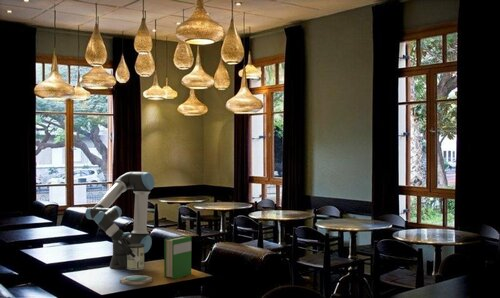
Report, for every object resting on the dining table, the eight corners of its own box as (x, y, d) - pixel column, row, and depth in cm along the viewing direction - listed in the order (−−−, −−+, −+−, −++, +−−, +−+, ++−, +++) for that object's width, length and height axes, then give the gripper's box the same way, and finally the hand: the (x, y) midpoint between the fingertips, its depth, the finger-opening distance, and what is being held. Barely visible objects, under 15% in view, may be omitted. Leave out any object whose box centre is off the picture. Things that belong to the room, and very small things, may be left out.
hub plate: (115, 280, 339) (115, 277, 339) (144, 276, 350) (144, 273, 350) (127, 286, 324) (127, 283, 324) (157, 282, 334) (157, 279, 334)
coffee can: (129, 266, 342) (130, 243, 342) (146, 266, 341) (146, 243, 341) (124, 269, 332) (124, 245, 332) (141, 270, 331) (141, 246, 331)
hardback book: (173, 279, 343) (173, 240, 343) (164, 277, 347) (164, 239, 347) (191, 273, 358) (191, 236, 358) (182, 272, 362) (182, 235, 362)
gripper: (115, 234, 348) (139, 260, 348) (105, 239, 325) (132, 267, 325) (123, 226, 348) (148, 251, 348) (114, 230, 325) (141, 258, 325)
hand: (140, 259), depth 336 cm, fingers closed on coffee can, 10 cm apart
